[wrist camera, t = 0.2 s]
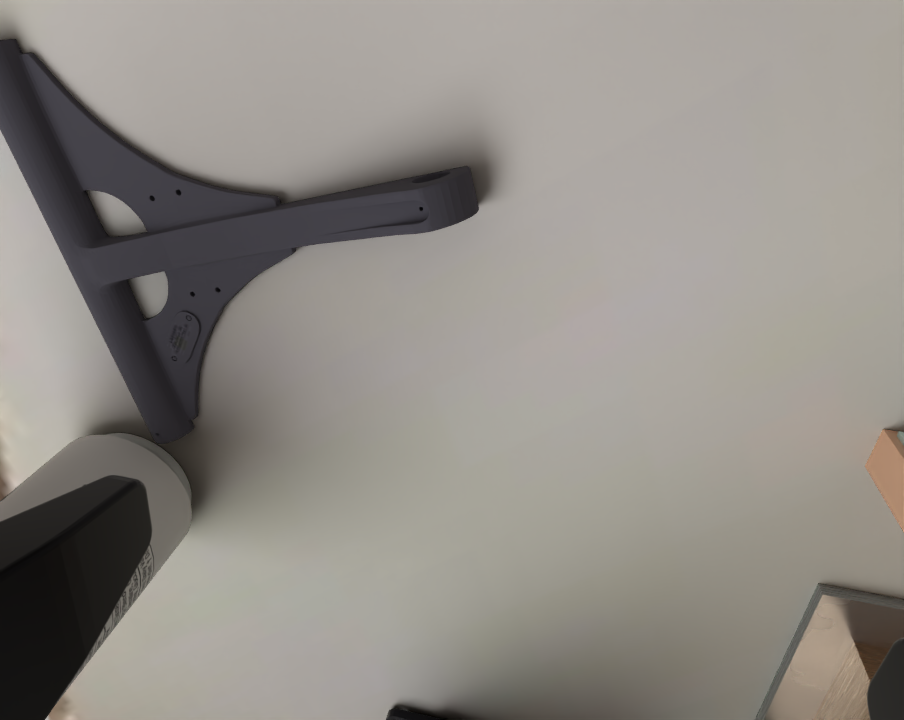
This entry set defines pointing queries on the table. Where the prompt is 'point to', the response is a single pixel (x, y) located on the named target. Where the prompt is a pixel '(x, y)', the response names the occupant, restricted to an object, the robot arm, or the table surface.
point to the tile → (889, 471)
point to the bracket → (179, 233)
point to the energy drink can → (120, 458)
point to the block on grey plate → (834, 656)
